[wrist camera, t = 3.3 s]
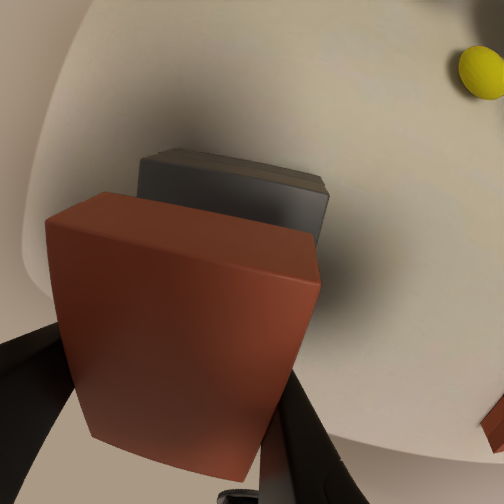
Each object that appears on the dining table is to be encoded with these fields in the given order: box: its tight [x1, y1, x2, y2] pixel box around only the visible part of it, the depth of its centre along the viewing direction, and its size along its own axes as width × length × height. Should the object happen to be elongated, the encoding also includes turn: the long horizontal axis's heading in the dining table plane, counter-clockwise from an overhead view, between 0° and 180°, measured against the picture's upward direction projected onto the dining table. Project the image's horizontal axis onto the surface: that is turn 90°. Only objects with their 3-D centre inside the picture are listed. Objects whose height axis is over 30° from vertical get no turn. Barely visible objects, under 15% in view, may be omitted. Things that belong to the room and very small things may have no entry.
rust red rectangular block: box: [45, 192, 322, 482], centre depth 8 cm, size 8×6×2 cm
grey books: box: [137, 149, 330, 249], centre depth 14 cm, size 9×7×4 cm
